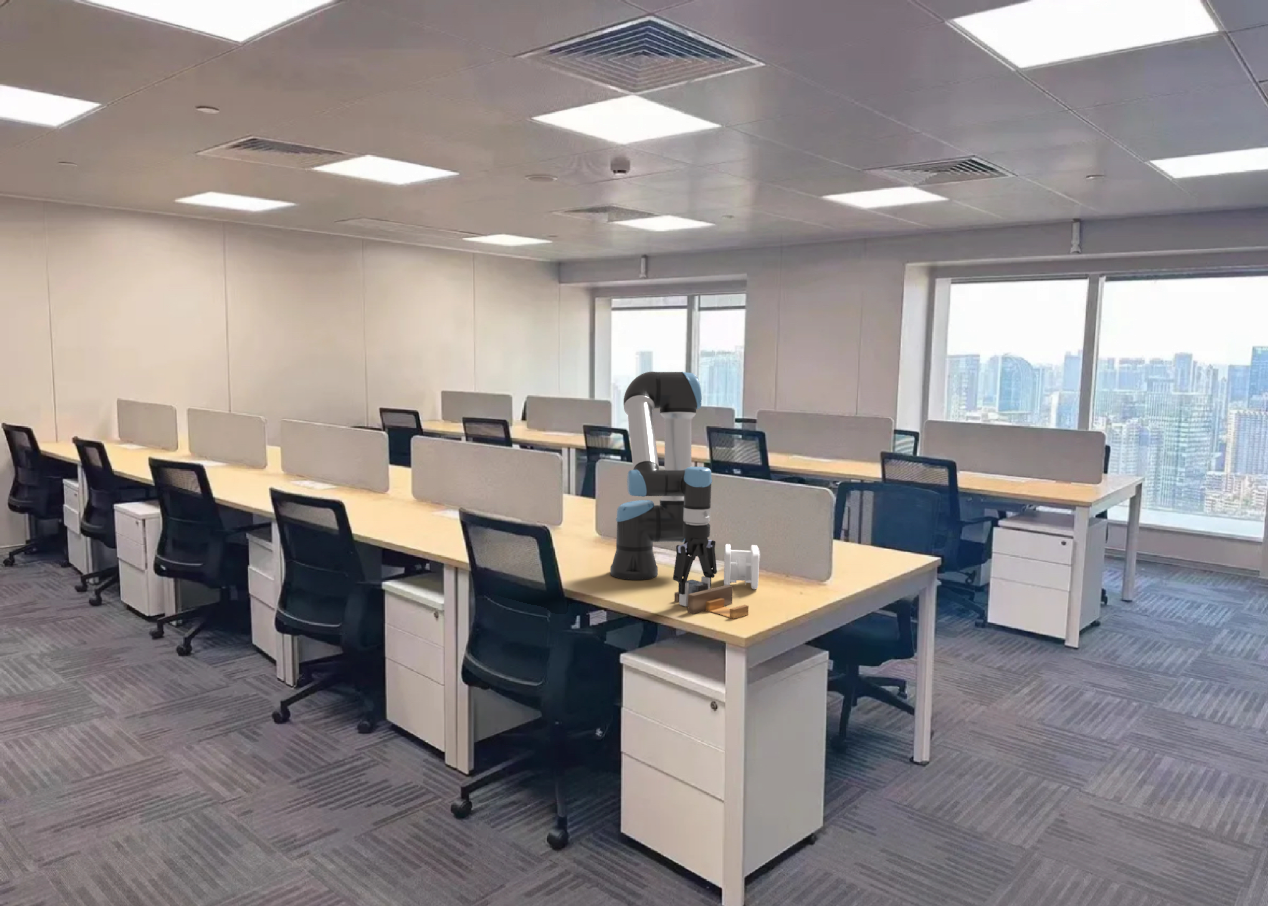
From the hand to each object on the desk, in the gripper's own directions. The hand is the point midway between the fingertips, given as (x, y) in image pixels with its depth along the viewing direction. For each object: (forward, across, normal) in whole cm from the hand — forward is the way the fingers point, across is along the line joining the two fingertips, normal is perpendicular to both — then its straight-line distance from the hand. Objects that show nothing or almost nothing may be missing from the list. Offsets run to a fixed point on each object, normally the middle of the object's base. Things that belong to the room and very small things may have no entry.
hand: (694, 602), depth 239 cm
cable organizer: (+1, +26, +5) cm, 27 cm away
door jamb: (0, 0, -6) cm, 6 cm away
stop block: (0, 0, 0) cm, 0 cm away
